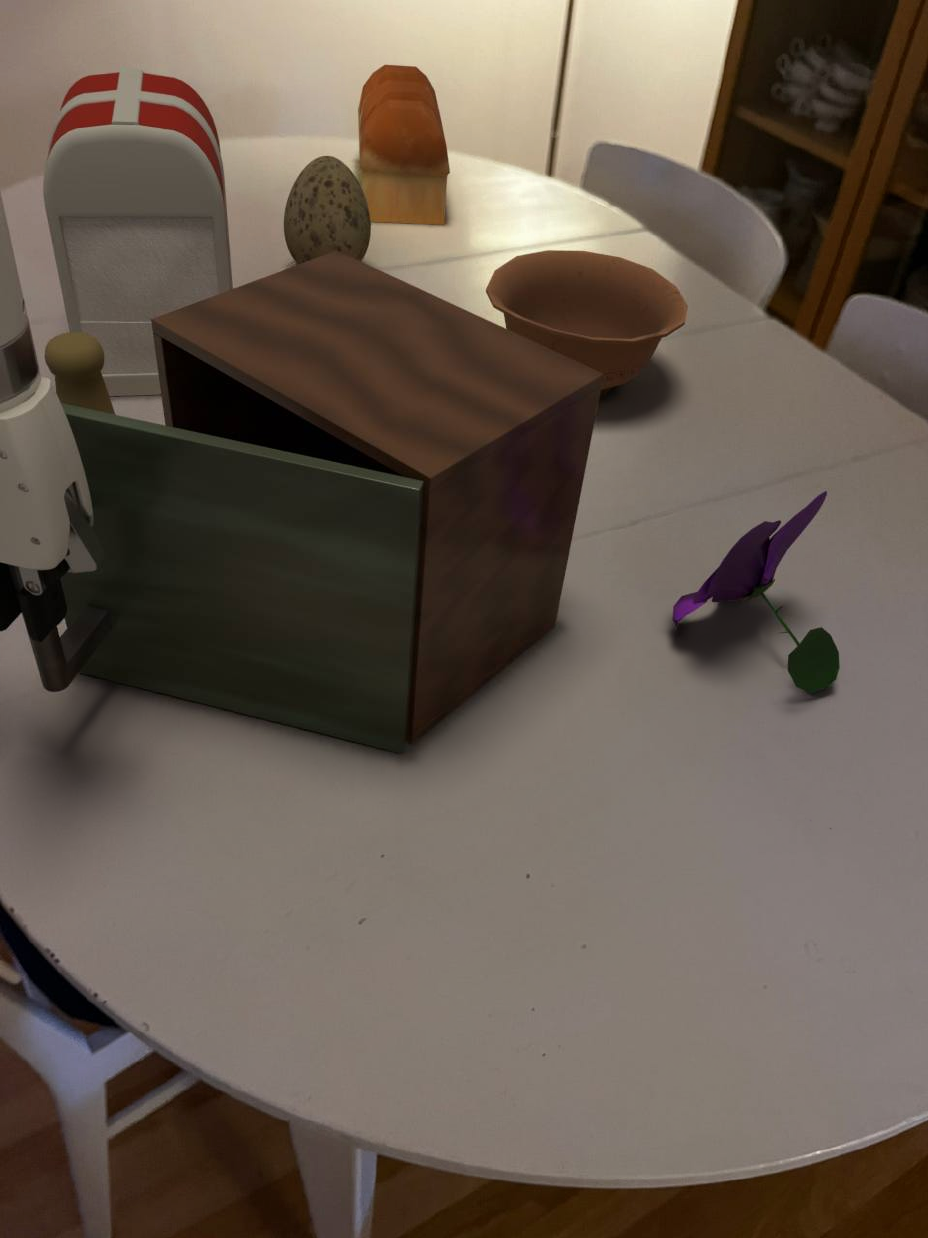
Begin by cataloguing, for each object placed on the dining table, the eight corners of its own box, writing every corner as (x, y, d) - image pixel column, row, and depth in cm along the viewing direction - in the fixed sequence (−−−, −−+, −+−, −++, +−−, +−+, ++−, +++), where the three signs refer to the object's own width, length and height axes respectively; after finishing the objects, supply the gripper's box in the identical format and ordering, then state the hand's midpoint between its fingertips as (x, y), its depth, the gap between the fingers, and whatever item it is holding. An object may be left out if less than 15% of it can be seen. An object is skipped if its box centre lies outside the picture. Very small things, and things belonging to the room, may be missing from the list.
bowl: (445, 395, 113) (452, 301, 105) (521, 317, 128) (532, 231, 120) (634, 454, 107) (656, 360, 99) (690, 366, 122) (713, 278, 115)
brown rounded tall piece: (75, 465, 98) (53, 361, 90) (48, 435, 101) (25, 333, 93) (134, 446, 101) (117, 344, 93) (106, 418, 104) (88, 317, 96)
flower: (821, 677, 92) (733, 554, 94) (951, 611, 79) (847, 471, 81) (721, 754, 84) (628, 619, 86) (848, 695, 71) (735, 538, 73)
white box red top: (79, 397, 106) (24, 122, 88) (90, 318, 119) (44, 63, 101) (240, 392, 110) (220, 126, 91) (235, 315, 122) (216, 68, 104)
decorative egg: (353, 302, 127) (354, 178, 117) (272, 285, 129) (266, 162, 118) (380, 268, 135) (384, 150, 125) (304, 253, 136) (301, 135, 126)
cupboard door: (374, 829, 70) (383, 562, 54) (27, 738, 73) (-62, 461, 57) (407, 744, 75) (424, 480, 59) (84, 663, 79) (18, 393, 63)
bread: (446, 225, 147) (453, 116, 137) (359, 222, 146) (360, 111, 136) (435, 163, 165) (441, 63, 155) (357, 159, 164) (358, 58, 154)
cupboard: (411, 745, 76) (430, 478, 59) (186, 581, 87) (150, 318, 71) (555, 627, 86) (604, 373, 70) (338, 494, 98) (337, 249, 81)
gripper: (-234, 360, 50) (-120, 630, 63) (58, 427, 48) (115, 693, 61) (-130, 297, 56) (-45, 557, 68) (136, 355, 54) (174, 613, 66)
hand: (30, 620), depth 64 cm, fingers closed on cupboard door, 2 cm apart
